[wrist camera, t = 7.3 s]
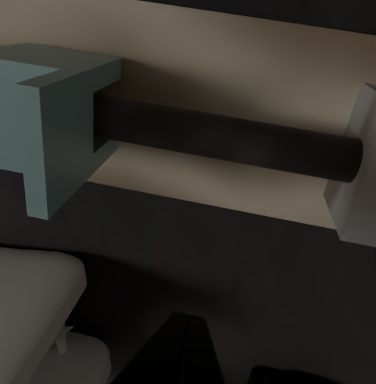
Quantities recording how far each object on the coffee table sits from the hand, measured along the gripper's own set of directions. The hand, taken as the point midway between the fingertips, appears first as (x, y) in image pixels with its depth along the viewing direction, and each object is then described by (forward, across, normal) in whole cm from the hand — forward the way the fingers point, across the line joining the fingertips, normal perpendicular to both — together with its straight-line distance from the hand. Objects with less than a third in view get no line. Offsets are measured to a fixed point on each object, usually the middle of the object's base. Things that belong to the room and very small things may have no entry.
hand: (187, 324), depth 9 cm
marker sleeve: (+11, +8, -2) cm, 14 cm away
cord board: (+13, +4, -2) cm, 14 cm away
